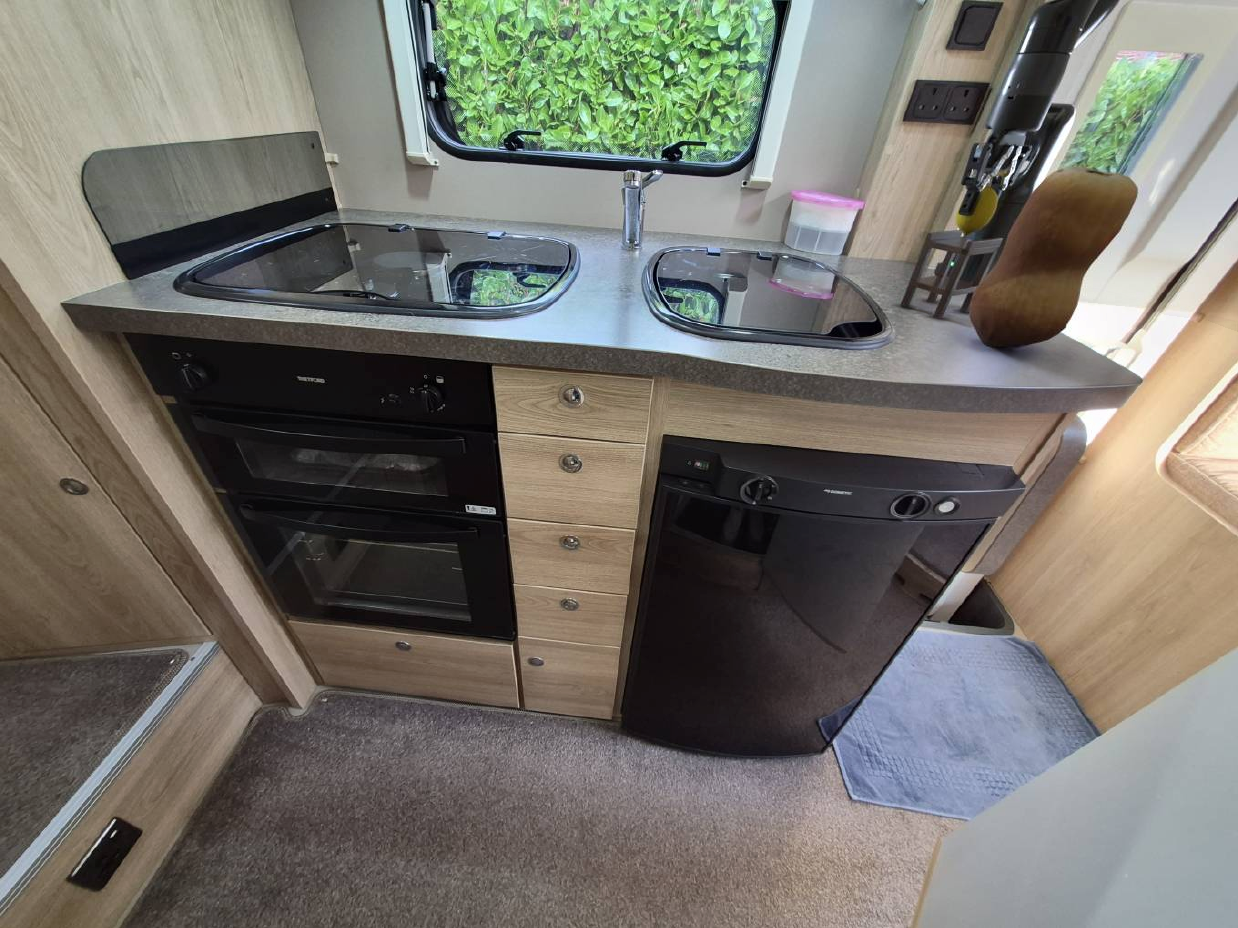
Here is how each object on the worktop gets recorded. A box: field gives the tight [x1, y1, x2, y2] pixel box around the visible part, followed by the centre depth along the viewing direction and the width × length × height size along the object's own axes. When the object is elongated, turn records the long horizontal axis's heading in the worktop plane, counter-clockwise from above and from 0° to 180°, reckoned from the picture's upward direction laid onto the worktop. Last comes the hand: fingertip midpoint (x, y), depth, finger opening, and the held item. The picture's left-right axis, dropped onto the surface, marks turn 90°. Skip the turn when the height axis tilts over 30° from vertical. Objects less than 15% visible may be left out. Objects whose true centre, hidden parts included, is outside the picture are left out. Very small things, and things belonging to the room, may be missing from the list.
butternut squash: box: [968, 166, 1139, 349], centre depth 73 cm, size 14×13×25 cm
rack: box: [899, 229, 1003, 320], centre depth 91 cm, size 8×10×13 cm
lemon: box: [955, 185, 998, 236], centre depth 85 cm, size 6×6×8 cm
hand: (974, 214), depth 85 cm, fingers closed on lemon, 5 cm apart
